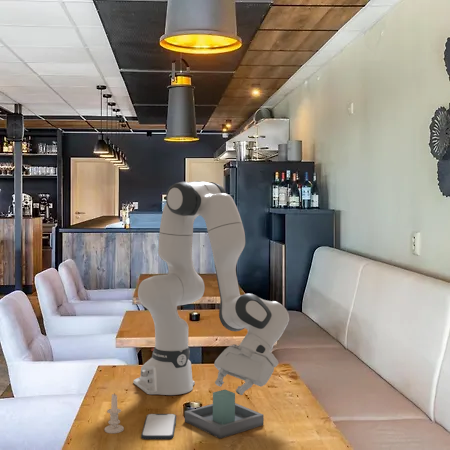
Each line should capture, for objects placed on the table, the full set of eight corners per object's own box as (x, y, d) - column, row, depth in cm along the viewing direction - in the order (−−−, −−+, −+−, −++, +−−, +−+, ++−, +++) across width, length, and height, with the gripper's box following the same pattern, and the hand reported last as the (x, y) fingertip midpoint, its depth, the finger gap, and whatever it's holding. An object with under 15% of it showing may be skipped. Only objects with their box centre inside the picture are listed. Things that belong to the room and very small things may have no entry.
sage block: (212, 420, 172) (212, 392, 172) (224, 416, 175) (225, 389, 175) (222, 424, 169) (222, 396, 168) (234, 420, 172) (235, 393, 171)
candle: (122, 425, 169) (122, 389, 169) (125, 432, 164) (125, 394, 164) (103, 427, 168) (103, 390, 167) (105, 434, 163) (106, 396, 162)
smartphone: (173, 441, 160) (176, 418, 176) (173, 435, 160) (176, 413, 176) (140, 442, 160) (146, 418, 176) (140, 436, 160) (146, 413, 176)
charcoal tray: (184, 421, 173) (184, 411, 173) (227, 409, 183) (227, 399, 183) (219, 438, 161) (219, 427, 160) (263, 425, 171) (263, 414, 171)
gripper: (225, 337, 185) (199, 374, 179) (271, 351, 169) (245, 392, 163) (236, 349, 188) (211, 386, 182) (282, 364, 172) (257, 404, 166)
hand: (227, 389), depth 173 cm, fingers open, 8 cm apart
